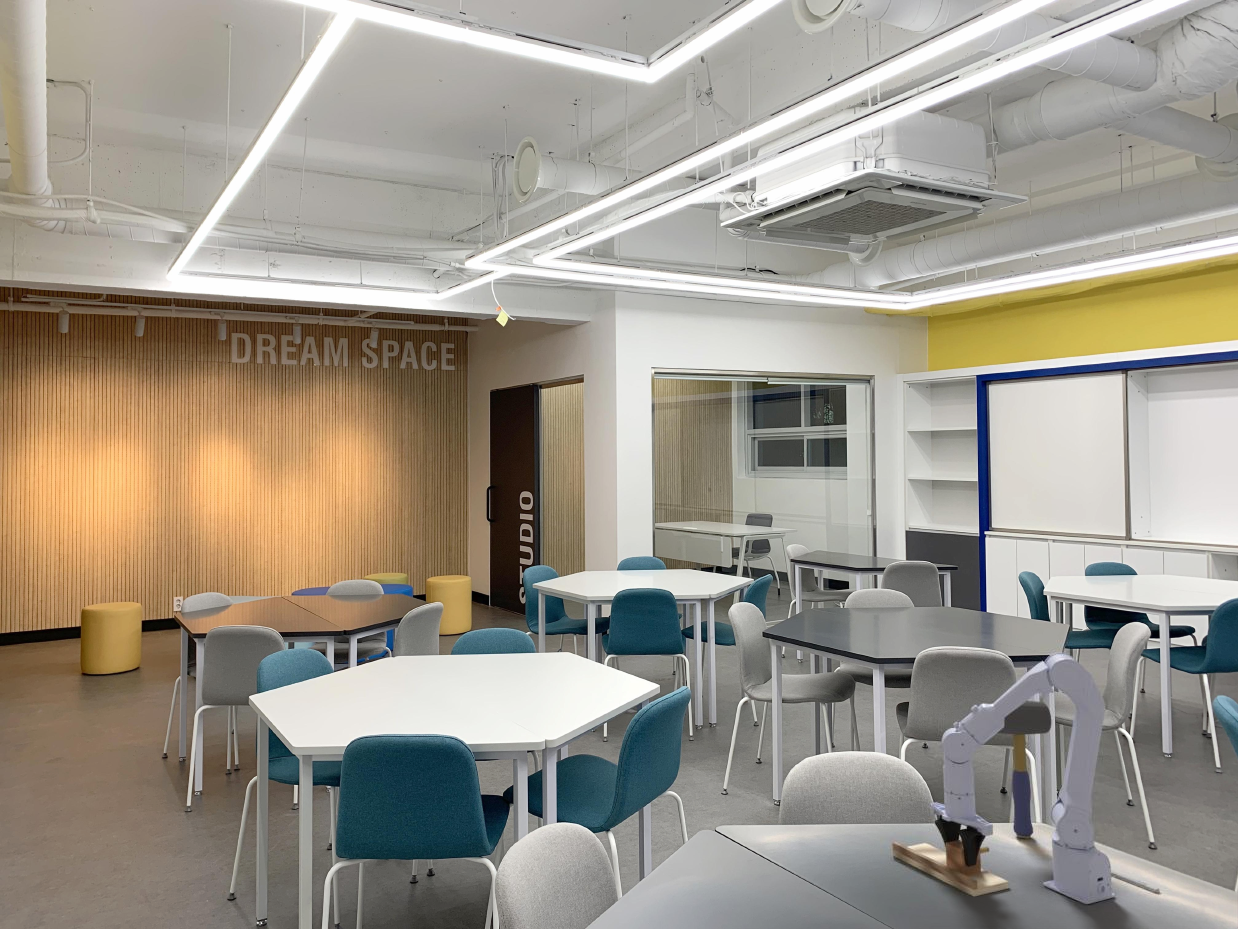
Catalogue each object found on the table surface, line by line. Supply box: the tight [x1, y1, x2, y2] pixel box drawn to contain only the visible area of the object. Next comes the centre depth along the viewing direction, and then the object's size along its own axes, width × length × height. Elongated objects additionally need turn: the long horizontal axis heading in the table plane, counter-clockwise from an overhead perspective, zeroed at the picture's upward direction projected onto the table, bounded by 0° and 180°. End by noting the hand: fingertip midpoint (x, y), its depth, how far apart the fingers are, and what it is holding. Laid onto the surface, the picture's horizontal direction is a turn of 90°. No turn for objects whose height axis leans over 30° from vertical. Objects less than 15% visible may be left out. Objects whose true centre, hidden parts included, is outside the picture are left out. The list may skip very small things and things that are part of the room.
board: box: [892, 841, 1010, 897], centre depth 171 cm, size 22×9×3 cm, turn 24°
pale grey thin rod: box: [1111, 869, 1160, 893], centre depth 166 cm, size 12×1×1 cm, turn 24°
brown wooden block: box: [945, 839, 990, 875], centre depth 170 cm, size 4×9×5 cm, turn 114°
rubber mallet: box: [987, 700, 1052, 839], centre depth 190 cm, size 12×8×30 cm, turn 86°
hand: (961, 861), depth 169 cm, fingers closed on brown wooden block, 4 cm apart
